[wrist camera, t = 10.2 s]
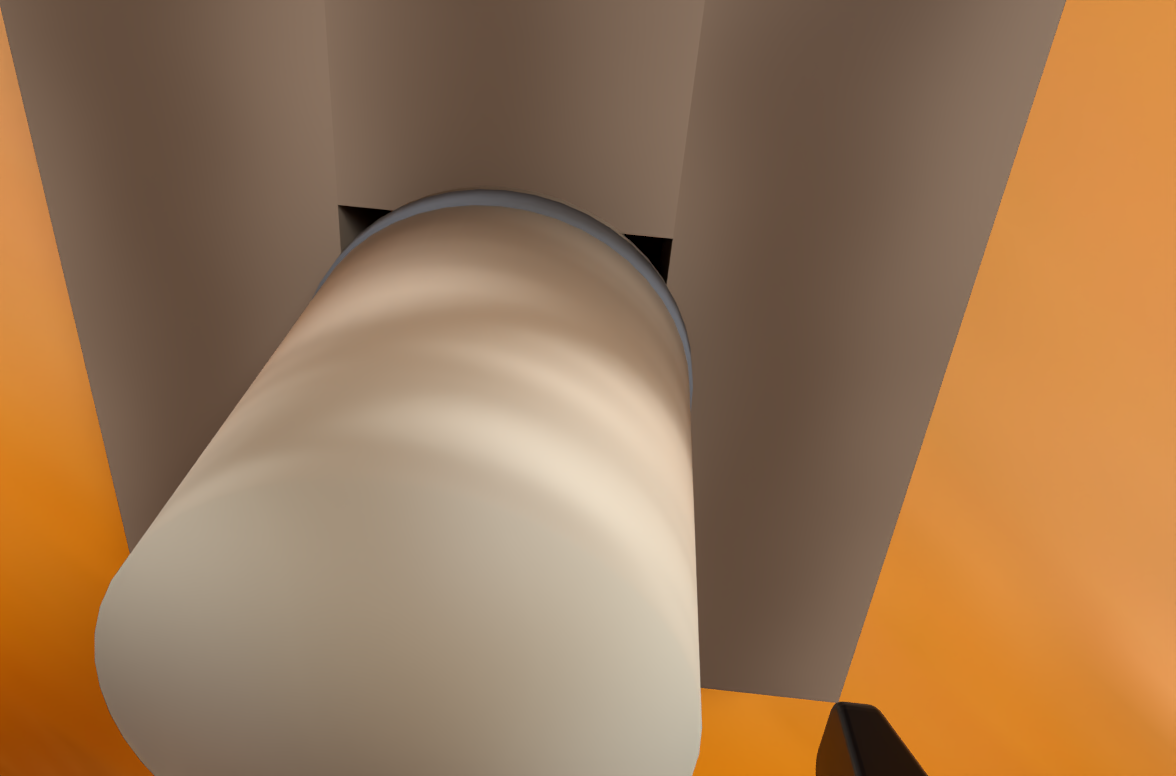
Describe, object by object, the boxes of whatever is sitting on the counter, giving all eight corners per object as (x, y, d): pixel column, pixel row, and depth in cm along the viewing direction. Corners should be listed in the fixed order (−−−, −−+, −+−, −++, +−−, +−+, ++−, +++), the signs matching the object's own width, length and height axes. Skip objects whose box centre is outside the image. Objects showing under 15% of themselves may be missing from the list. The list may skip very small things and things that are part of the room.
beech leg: (711, 145, 16) (757, 515, 8) (667, 439, 19) (666, 923, 11) (354, 110, 16) (21, 437, 8) (370, 408, 19) (146, 863, 11)
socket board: (1012, -93, 14) (1088, -68, 12) (817, 595, 21) (837, 702, 19) (83, -179, 14) (-43, -174, 12) (208, 530, 22) (147, 626, 19)
